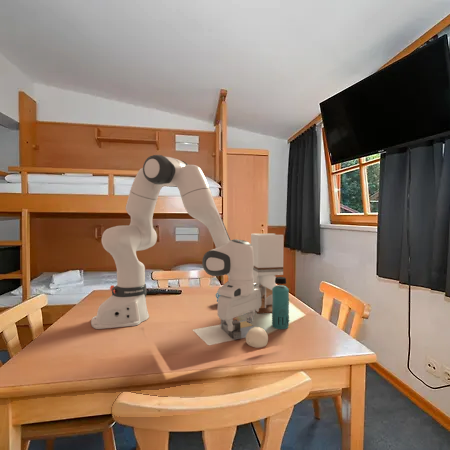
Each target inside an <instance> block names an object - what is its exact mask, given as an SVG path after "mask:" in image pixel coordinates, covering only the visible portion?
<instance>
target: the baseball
mask: <svg viewBox="0 0 450 450" xmlns="http://www.w3.org/2000/svg"><path fill="white" fill-rule="evenodd" d="M245 341H246V343H245V344H247V346H250V347H253V348H257V349H258V348H260V349H262V348H264V347H266V346H267V344H268V343H269V342H268V341H269V336H268V333H267V332H266V330H265V329H264V328H262V327H260V326H254V327H253V328H251V329H250V330H249V331H248V333H247V334H246V338H245Z"/></svg>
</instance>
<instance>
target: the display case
mask: <svg viewBox="0 0 450 450" xmlns="http://www.w3.org/2000/svg"><path fill="white" fill-rule="evenodd" d="M284 237H285V236H284V234H276V233H251V234H250V244H251V245H252V248H253V254H254V268H253V276H254V283H257V284H258V285H259V289H260V292H261V303H262V304H261V307H260V308H258V309H256V310H255V314H257V315H259V314H260V315H263V314H272V289H273V287H275V286H277V283H275V278H276V277H277V276H283V275H284V244H285V243H284V242H285V240H284Z"/></svg>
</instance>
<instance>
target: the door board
mask: <svg viewBox="0 0 450 450" xmlns="http://www.w3.org/2000/svg"><path fill="white" fill-rule="evenodd" d="M238 321H239V322H240V323H241V324H240V331H241V339H246V334H247V333H248V331H249V330H250V329H251V328H253V327H255V326H254V325H253V324H252V323H248V322H247V320H245V319H243V320H238ZM224 323H226V321H225V320H222V319H220V324H215V325H211V326H204V327H199V328H194V329H192V332H194V333H195V334H196V335H197V336H198V337H199V339H200V340H202V341H203V342H204V343H205V344H206V345H207V346H213V345H218V344H223V343H226V342H227V343H228V342H231V341H235V340H234V339H232V338H231V337H230V336H229V335H228V334H227V333H226V332H225V331H223V324H224Z"/></svg>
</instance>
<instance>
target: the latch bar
mask: <svg viewBox="0 0 450 450" xmlns="http://www.w3.org/2000/svg"><path fill="white" fill-rule="evenodd" d="M239 321H240V320H238V319H233V321H232V324H233V325H235V330H234V331H229V330H228V325H227V323H224V324H223V331H225V332H226V333H227V334H228V335H229V336H230V337H231V338H232V339H234V340H233V341H237V340H240V339H242V338H241V331H240V324H241V323H240V322H239Z"/></svg>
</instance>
